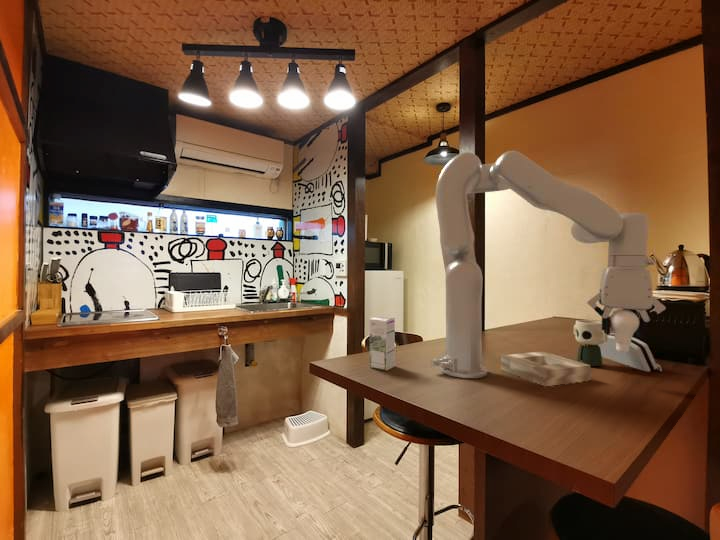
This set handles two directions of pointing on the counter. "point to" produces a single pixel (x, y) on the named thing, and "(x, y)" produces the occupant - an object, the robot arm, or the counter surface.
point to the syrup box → (382, 343)
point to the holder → (545, 368)
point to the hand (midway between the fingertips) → (623, 334)
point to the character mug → (590, 341)
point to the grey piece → (630, 354)
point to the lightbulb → (623, 328)
